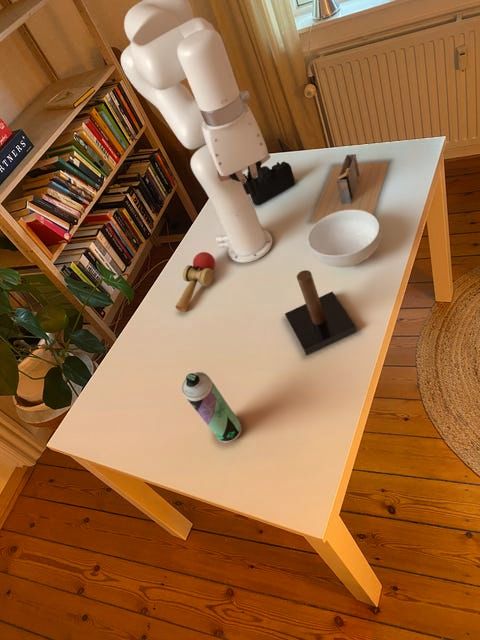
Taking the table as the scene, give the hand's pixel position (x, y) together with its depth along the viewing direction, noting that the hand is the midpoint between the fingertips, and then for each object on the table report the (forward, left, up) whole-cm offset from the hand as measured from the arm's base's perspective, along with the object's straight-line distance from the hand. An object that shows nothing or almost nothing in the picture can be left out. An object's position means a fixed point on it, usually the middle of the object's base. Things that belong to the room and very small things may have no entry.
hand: (254, 193), depth 98 cm
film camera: (-13, +42, -29) cm, 53 cm away
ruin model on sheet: (+12, +36, -29) cm, 48 cm away
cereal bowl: (+13, +11, -29) cm, 34 cm away
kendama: (-26, +3, -29) cm, 39 cm away
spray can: (-7, -38, -29) cm, 48 cm away
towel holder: (+6, -13, -20) cm, 25 cm away
